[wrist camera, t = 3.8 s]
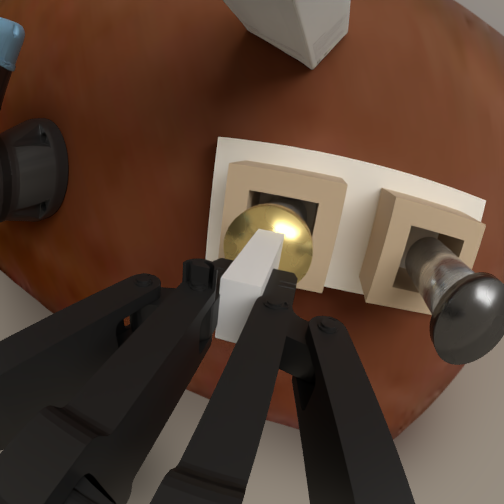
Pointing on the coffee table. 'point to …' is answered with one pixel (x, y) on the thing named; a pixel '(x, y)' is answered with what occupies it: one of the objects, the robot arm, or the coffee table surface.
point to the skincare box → (296, 25)
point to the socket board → (346, 215)
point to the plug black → (456, 302)
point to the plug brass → (277, 220)
